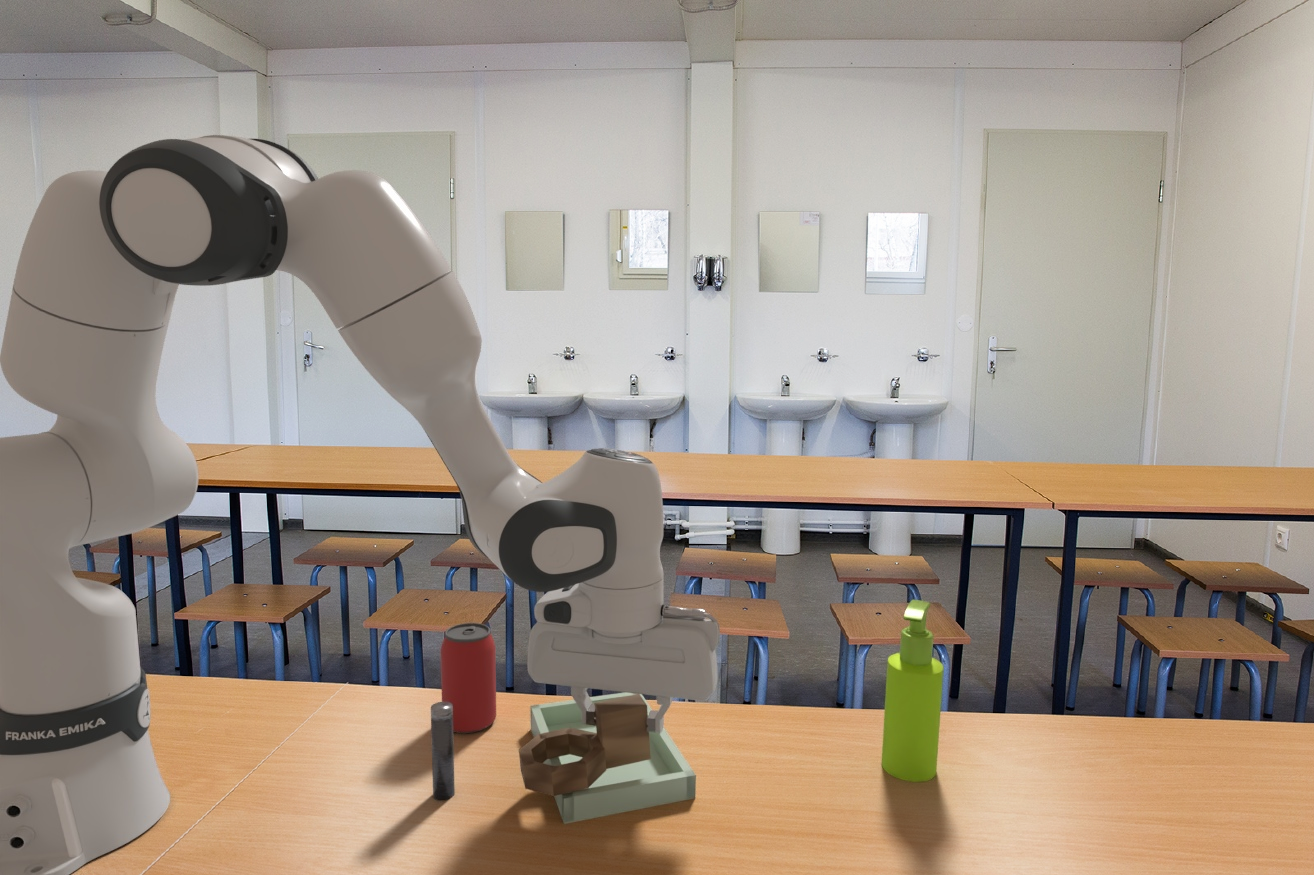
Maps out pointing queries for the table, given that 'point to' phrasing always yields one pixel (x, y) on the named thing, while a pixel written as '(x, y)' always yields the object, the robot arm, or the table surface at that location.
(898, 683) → the soap dispenser
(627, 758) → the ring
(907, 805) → the table surface
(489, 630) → the beer can
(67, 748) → the robot arm
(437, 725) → the dark grey metal cylinder
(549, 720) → the tray
